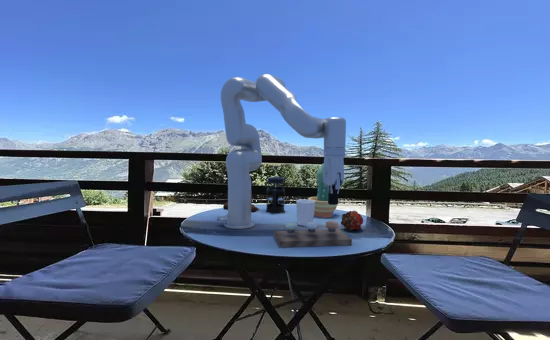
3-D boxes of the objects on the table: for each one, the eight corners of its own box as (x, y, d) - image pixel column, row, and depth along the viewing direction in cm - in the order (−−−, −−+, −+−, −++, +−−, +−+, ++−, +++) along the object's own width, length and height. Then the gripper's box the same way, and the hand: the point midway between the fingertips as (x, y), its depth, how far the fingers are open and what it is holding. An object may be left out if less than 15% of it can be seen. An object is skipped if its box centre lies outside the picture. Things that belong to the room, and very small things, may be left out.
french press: (267, 208, 171) (268, 165, 169) (285, 209, 170) (286, 165, 168) (264, 213, 159) (264, 166, 157) (283, 214, 158) (284, 167, 156)
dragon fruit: (347, 237, 127) (351, 234, 138) (366, 226, 125) (369, 223, 136) (335, 218, 129) (340, 216, 140) (353, 207, 127) (357, 206, 138)
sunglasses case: (261, 209, 170) (258, 199, 166) (256, 218, 164) (253, 208, 161) (230, 206, 176) (227, 196, 173) (225, 215, 171) (221, 205, 167)
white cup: (313, 227, 136) (314, 203, 135) (294, 225, 137) (295, 202, 136) (315, 222, 143) (315, 200, 142) (297, 221, 145) (297, 199, 144)
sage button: (285, 233, 113) (286, 225, 112) (283, 230, 117) (283, 222, 117) (298, 233, 113) (298, 225, 113) (295, 230, 118) (295, 222, 117)
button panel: (279, 247, 108) (279, 241, 108) (274, 236, 121) (274, 231, 121) (351, 245, 112) (351, 239, 112) (338, 234, 125) (338, 229, 125)
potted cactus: (340, 219, 149) (341, 165, 147) (306, 218, 152) (307, 164, 149) (339, 212, 164) (340, 163, 162) (308, 211, 167) (309, 162, 165)
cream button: (307, 233, 114) (307, 224, 113) (304, 230, 118) (304, 221, 118) (319, 233, 114) (319, 224, 114) (315, 229, 119) (316, 221, 118)
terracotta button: (327, 232, 115) (328, 224, 115) (324, 229, 119) (324, 221, 119) (339, 232, 116) (340, 224, 115) (335, 229, 120) (335, 221, 120)
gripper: (318, 152, 122) (317, 200, 123) (330, 153, 107) (329, 208, 109) (337, 152, 123) (336, 200, 124) (352, 153, 108) (351, 208, 110)
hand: (333, 204), depth 117 cm, fingers closed
